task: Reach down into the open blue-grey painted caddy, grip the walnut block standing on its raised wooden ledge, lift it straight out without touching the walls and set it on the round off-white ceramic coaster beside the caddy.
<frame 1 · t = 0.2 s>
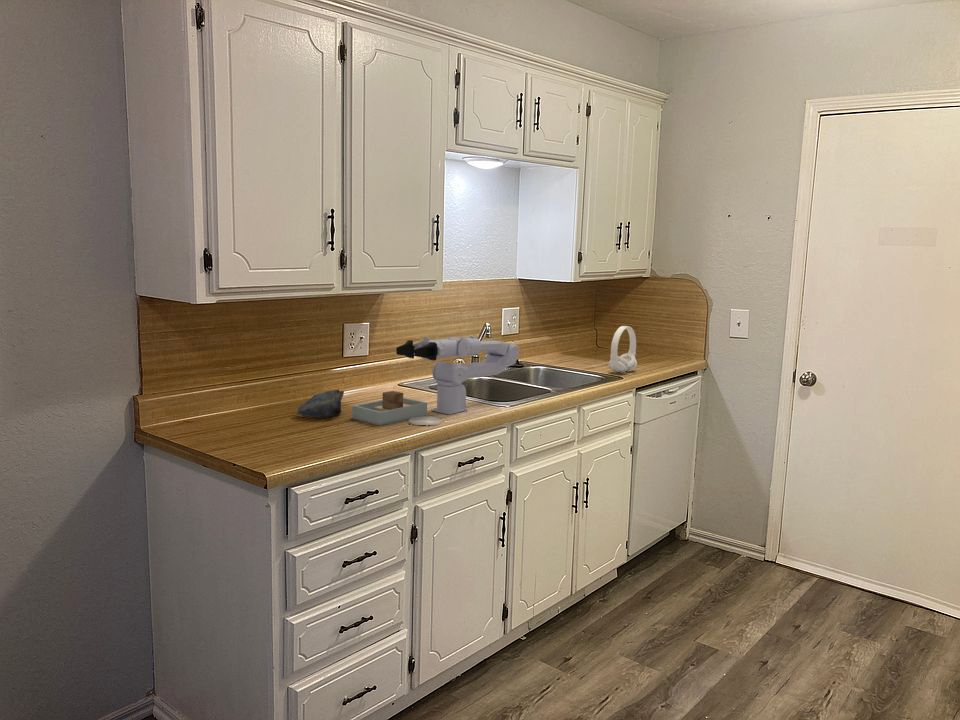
hand: (406, 351, 233), 21 cm above the worktop, tool horizontal, fingers open, 7 cm apart
headphones: (622, 372, 335), on the worktop
block: (392, 408, 242), point 2 cm above the worktop, touching caddy
coaster: (425, 422, 236), on the worktop
caddy: (390, 416, 241), on the worktop
rock: (322, 417, 238), on the worktop
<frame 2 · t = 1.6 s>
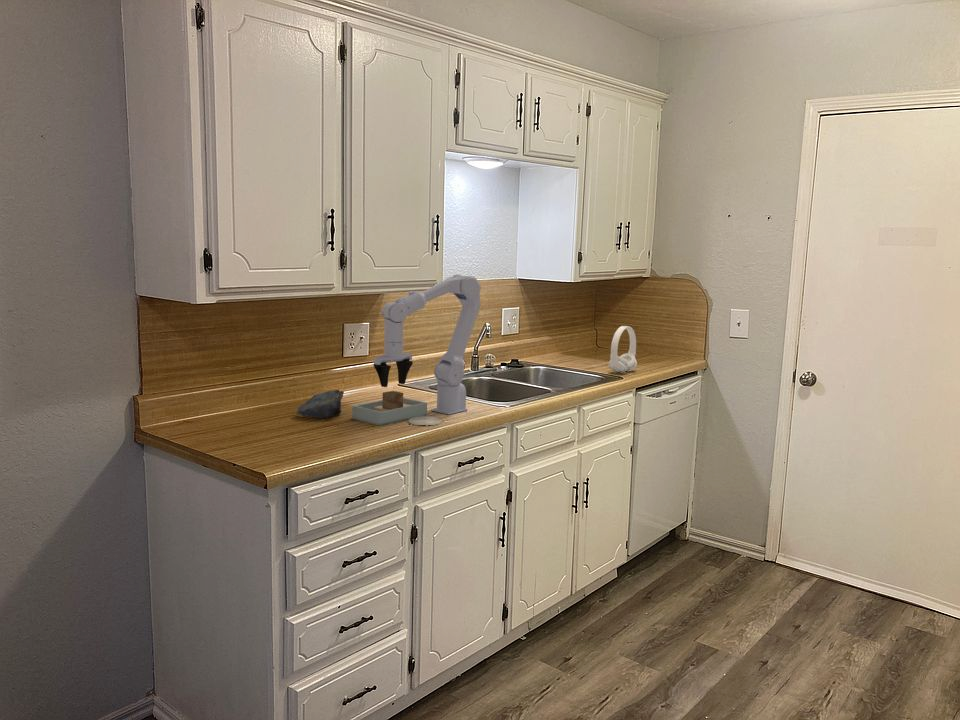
hand: (393, 385, 240), 10 cm above the worktop, tool pointing down, fingers open, 7 cm apart
nothing on the worktop moved.
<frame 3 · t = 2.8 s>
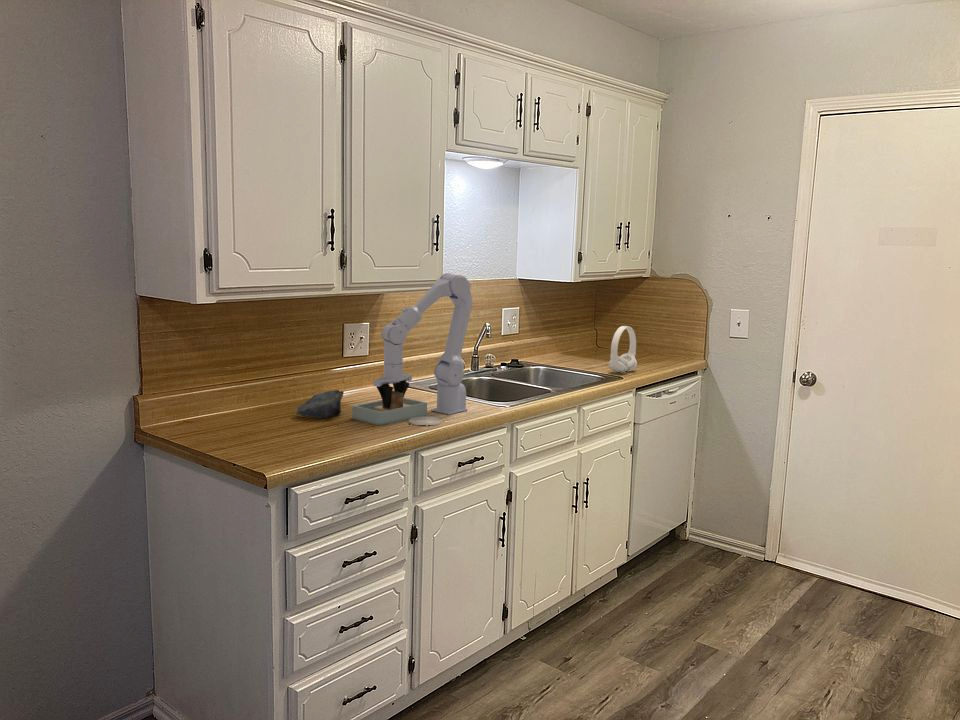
hand: (392, 406, 241), 3 cm above the worktop, tool pointing down, fingers closed on block, 4 cm apart
block: (392, 408, 242), point 2 cm above the worktop, touching caddy, gripper
everything else where it was.
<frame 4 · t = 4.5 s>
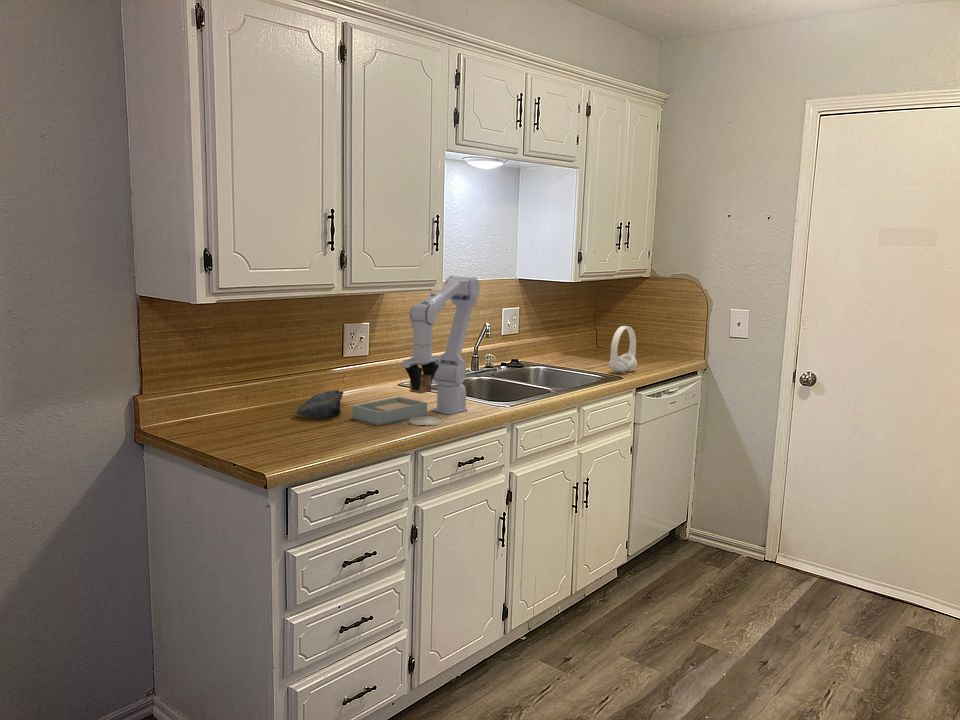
hand: (421, 388, 235), 10 cm above the worktop, tool pointing down, fingers closed on block, 4 cm apart
block: (420, 391, 235), point 9 cm above the worktop, touching gripper
everything else where it was.
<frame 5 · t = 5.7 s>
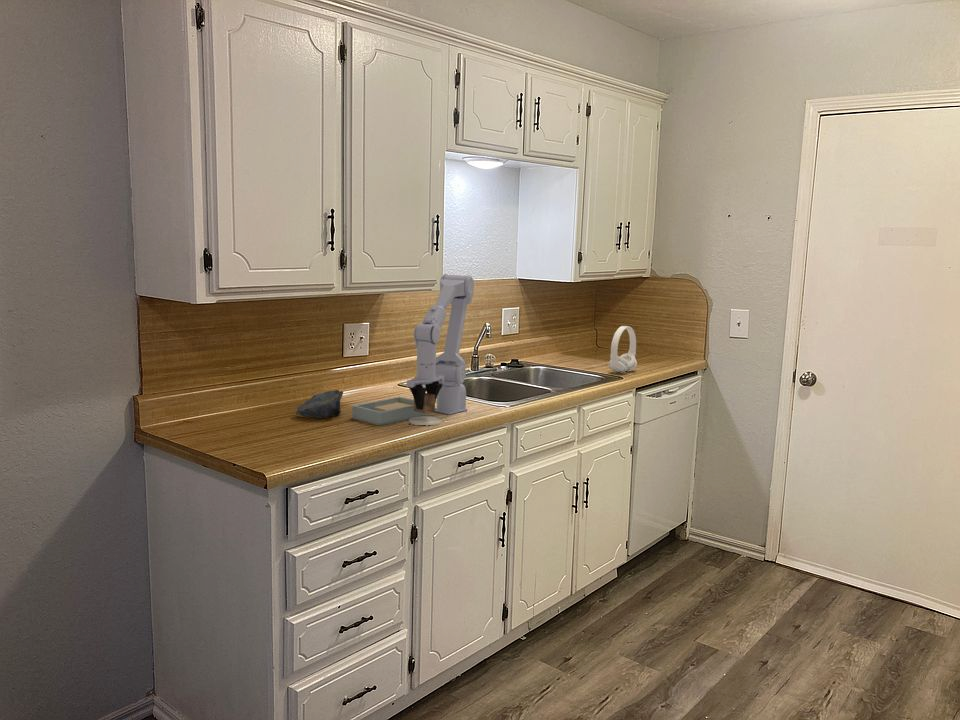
hand: (425, 407, 235), 4 cm above the worktop, tool pointing down, fingers closed on block, 4 cm apart
block: (424, 410, 236), point 3 cm above the worktop, touching gripper
everything else where it was.
when the fingers open (3 cm above the worktop, at t = 6.5 s): block drops 1 cm, resting on coaster.
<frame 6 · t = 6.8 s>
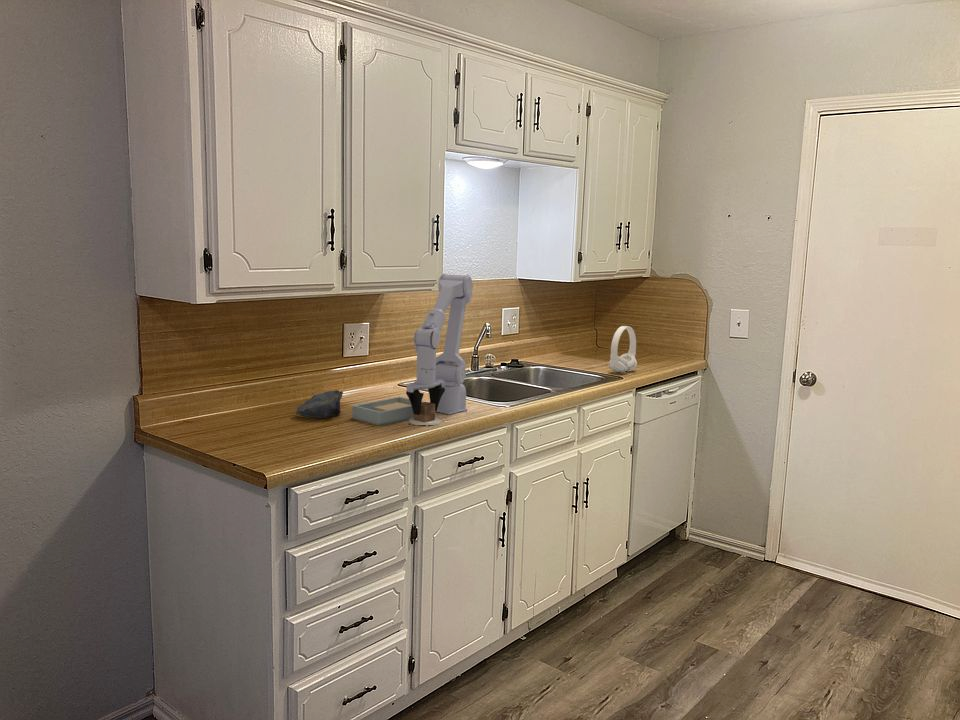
hand: (425, 412, 236), 3 cm above the worktop, tool pointing down, fingers open, 7 cm apart
block: (424, 419, 236), point 1 cm above the worktop, touching coaster
everything else where it was.
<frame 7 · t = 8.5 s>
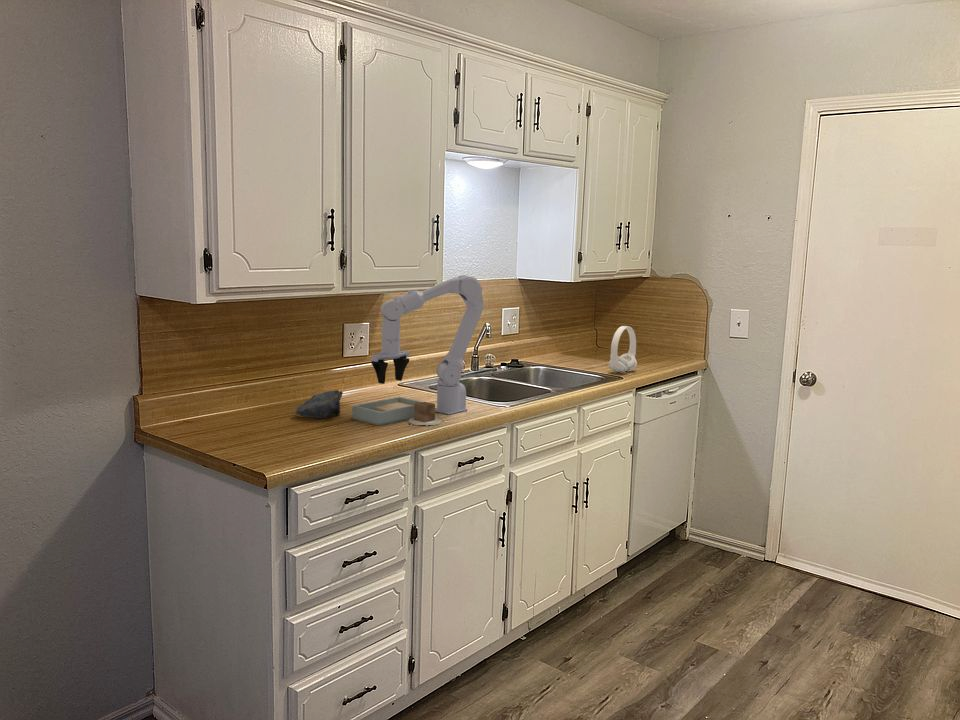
hand: (390, 381, 245), 10 cm above the worktop, tool pointing down, fingers open, 7 cm apart
nothing on the worktop moved.
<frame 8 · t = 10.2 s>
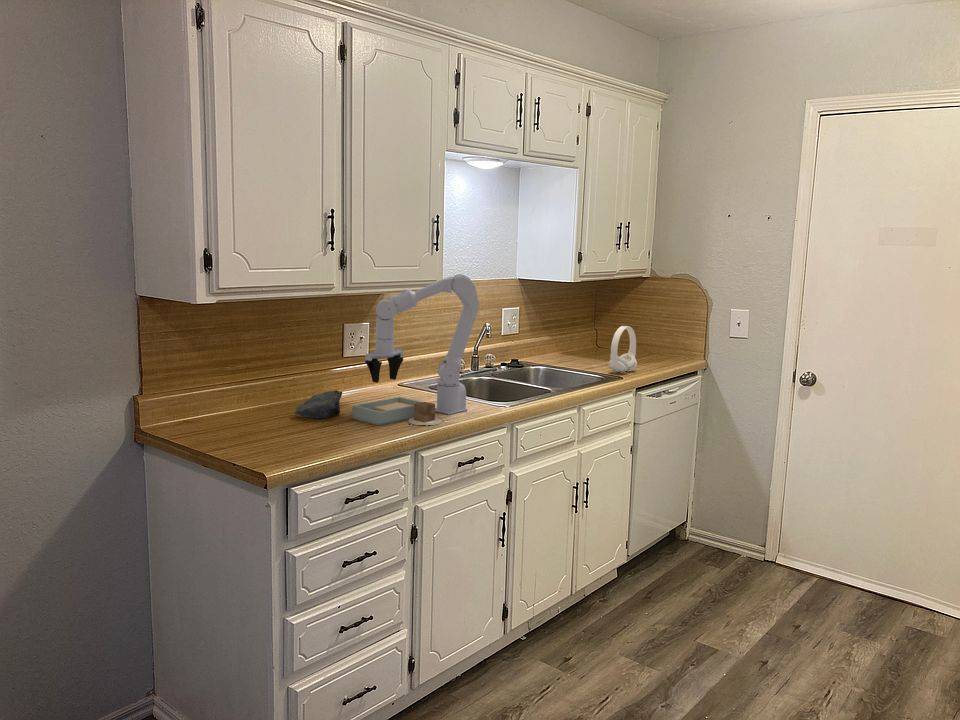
hand: (384, 380, 247), 10 cm above the worktop, tool pointing down, fingers open, 7 cm apart
nothing on the worktop moved.
at the end: block inside the target area on the coaster (0.3 cm from its centre), point 0.6 cm above the coaster's base; block tilted 0°; the gripper is holding nothing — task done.
